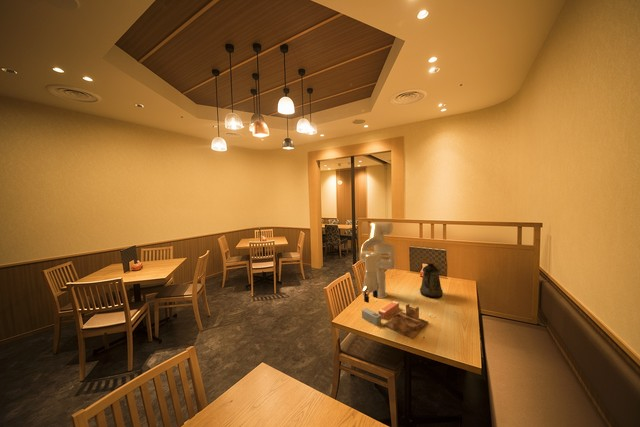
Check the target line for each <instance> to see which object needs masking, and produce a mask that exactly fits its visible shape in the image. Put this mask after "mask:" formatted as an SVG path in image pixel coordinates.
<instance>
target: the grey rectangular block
mask: <svg viewBox="0 0 640 427" xmlns="http://www.w3.org/2000/svg"><path fill="white" fill-rule="evenodd" d="M361 318H362V319H363V320H365V321H367V322H368V323H370V324H372V325H373V326H376V327H377V326H379V325H381V324H382V318H381V315H380V314H379V312H375V311H374V310H371V309H370V308H368V307H365V308H364V309H361Z"/></svg>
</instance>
